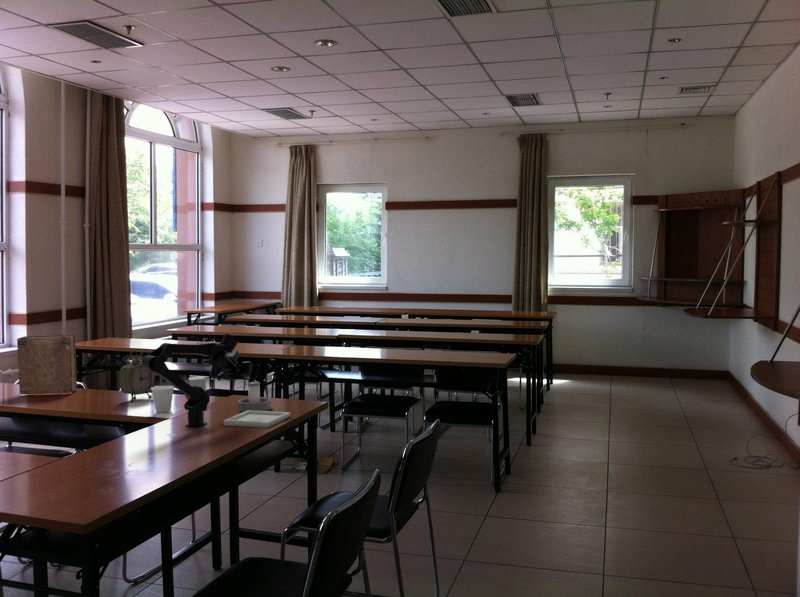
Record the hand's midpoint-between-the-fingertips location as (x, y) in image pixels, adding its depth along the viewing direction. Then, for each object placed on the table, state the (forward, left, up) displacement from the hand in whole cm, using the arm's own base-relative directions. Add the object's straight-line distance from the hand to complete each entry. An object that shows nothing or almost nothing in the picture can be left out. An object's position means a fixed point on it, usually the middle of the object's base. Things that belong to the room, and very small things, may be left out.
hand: (240, 378), depth 308 cm
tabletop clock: (+15, +66, -15) cm, 69 cm away
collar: (+8, -2, -15) cm, 17 cm away
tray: (-13, -15, -15) cm, 25 cm away
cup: (-6, +36, -15) cm, 39 cm away
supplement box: (+12, +30, -15) cm, 36 cm away
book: (+20, +124, -15) cm, 126 cm away
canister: (+8, -2, -15) cm, 17 cm away
